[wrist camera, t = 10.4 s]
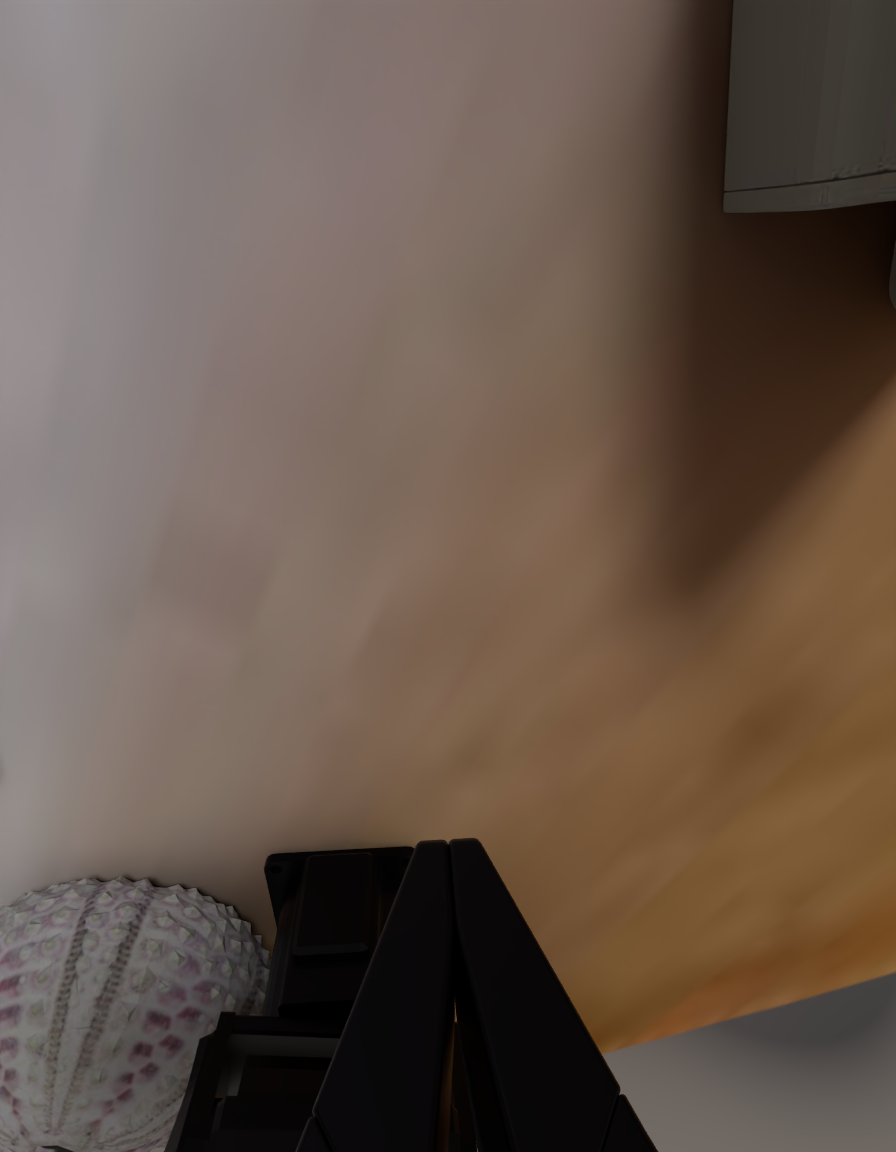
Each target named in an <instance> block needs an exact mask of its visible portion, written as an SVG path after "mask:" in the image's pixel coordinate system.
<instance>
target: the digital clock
mask: <svg viewBox="0 0 896 1152" xmlns="http://www.w3.org/2000/svg"><path fill="white" fill-rule="evenodd" d="M724 191H728V192H726V193H724V201H723V210H724V213H753V212H791V211H811V210H823V209H832V208H840V207H847V206H855V205H862V204H870V203H877V202H886V201H895V200H896V0H733V20H732V40H731V60H730V80H729V100H728V120H727V141H726V161H725V181H724ZM889 296H890V300H891V302H892V304H893V306H894V308H895V309H896V240H895V247H894V253H893V260H892V266H891V273H890V282H889Z"/></svg>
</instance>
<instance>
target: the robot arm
mask: <svg viewBox="0 0 896 1152" xmlns="http://www.w3.org/2000/svg"><path fill="white" fill-rule="evenodd" d="M264 871H265V876H266V880H267V885H268V889H269V894H270V898H271V903H272V907H273V912H274V916H275V921H276V925H277V934H276V939H275V945H274V950H273V956H272V961H271V967H270V972H269V977H268V983H267V988H266V994H265V999H264V1005H263V1010H262V1016H252V1015H236V1012H231V1011H221V1013H220V1017H219V1020H218V1024H217V1027H216V1030H214V1032H213V1033H211V1034H209V1035H206V1036H204V1037H202V1038H200V1039H199V1043H198V1047H197V1051H196V1055H195V1059H194V1062H193V1066H192V1070H191V1074H190V1078H189V1082H188V1085H187V1089H186V1092H185V1095H184V1098H183V1101H182V1104H181V1107H180V1110H179V1112H178V1115H177V1118H176V1121H175V1123H174V1126H173V1129H172V1132H171V1134H170V1137H169V1140H168V1143H167V1145H166V1148H165V1151H164V1152H477V1149H478V1152H658V1151H657V1149H656V1147H655V1146H654V1144H653V1142H652V1141H651V1139H650V1137H649V1136H648V1134H647V1132H646V1131H645V1129H644V1127H643V1125H642V1124H641V1122H640V1120H639V1118H638V1117H637V1115H636V1113H635V1111H634V1110H633V1108H632V1106H631V1104H630V1103H629V1101H628V1099H627V1097H626V1096H625V1095H624V1094H621V1095H619V1094H620V1086H619V1084H618V1082H617V1081H616V1079H615V1077H614V1075H613V1074H612V1072H611V1070H610V1068H609V1067H608V1065H607V1063H606V1061H605V1059H604V1058H603V1056H602V1054H601V1052H600V1051H599V1049H598V1047H597V1045H596V1044H595V1042H594V1040H593V1038H592V1037H591V1035H590V1033H589V1031H588V1030H587V1028H586V1026H585V1024H584V1023H583V1021H582V1019H581V1017H580V1016H579V1014H578V1012H577V1010H576V1009H575V1007H574V1005H573V1003H572V1002H571V1000H570V998H569V996H568V995H567V993H566V991H565V989H564V988H563V986H562V984H561V982H560V981H559V979H558V977H557V975H556V974H555V972H554V970H553V968H552V967H551V965H550V963H549V961H548V960H547V958H546V956H545V954H544V953H543V951H542V949H541V947H540V946H539V944H538V942H537V940H536V939H535V937H534V935H533V933H532V931H531V930H530V928H529V926H528V924H527V923H526V921H525V919H524V917H523V916H522V914H521V912H520V910H519V909H518V907H517V905H516V903H515V902H514V900H513V898H512V896H511V895H510V893H509V891H508V889H507V888H506V886H505V884H504V882H503V881H502V879H501V877H500V875H499V874H498V872H497V870H496V868H495V867H494V865H493V863H492V861H491V860H490V858H489V856H488V854H487V853H486V851H485V849H484V847H483V846H482V844H481V843H480V841H479V840H478V839H476V838H463V839H452V840H451V841H450V842H449V844H448V843H447V842H446V841H445V840H426V841H420V842H419V843H418V844H417V845H416V847H415V848H412V847H388V848H370V849H352V850H334V851H315V852H297V853H279V854H272V855H270V856H268V858H267V859H266V863H265V867H264ZM455 1005H456V1016H457V1022H455ZM457 1023H458V1024H457ZM476 1142H477V1144H476Z"/></svg>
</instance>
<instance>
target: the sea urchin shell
mask: <svg viewBox="0 0 896 1152" xmlns="http://www.w3.org/2000/svg"><path fill="white" fill-rule="evenodd" d="M269 952H270V951H268V950H266V949H265V948H263V947H262V937H261V935H252V934H251V924H250V923H249V922H246V921H243V920H241V919H239V916H238V914H237V913H236V912H235V910H234V908H233V906H228V907H225V905H224V904H218V903H216V902H215V901H214V900H213V899H212V897H209V896H202V895H201V894H200V893H198V892H197V889H196V888H192V889H186V890H185V889H183V888H182V887H181V886H180V885H179V884H178V885H174V886H171V887H168V888H160V887H154V886H152V884H151V883H150V881H149V880H148V879H147V878H146V879H143V880H140V881H137V882H132V881H130V880H128V879H127V878H126V879H125V878H124V877H122V876H120V877H118V878H117V879H115V880H114V879H113V880H112V881H108V882H99V881H98V880H96V879H95V878H92V879H90V880H89V879H87V878H84V879H82V880H81V881H70V882H68V883H66V884H60V885H59V886H58V885H51V886H50V887H49V888H48V889H47V890H45V891H41V892H35V891H30V892H29V893H28V894H27V893H24V894H23V895H22V896H21V897H20V898H19V899H18V900H17V901H16V902H15V903H14V904H13V905H11V906H3V907H2V908H0V1148H1V1152H149V1151H150V1150H152V1149H154V1148H157V1147H166V1145H167V1143H168V1140H169V1137H170V1134H171V1132H172V1129H173V1126H174V1123H175V1121H176V1118H177V1115H178V1112H179V1110H180V1107H181V1104H182V1101H183V1098H184V1095H185V1092H186V1089H187V1085H188V1082H189V1078H190V1074H191V1070H192V1066H193V1062H194V1059H195V1055H196V1051H197V1047H198V1043H199V1039H200V1038H202V1037H204V1036H206V1035H209V1034H211V1033H213V1032H214V1030H216V1027H217V1024H218V1020H219V1017H220V1013H221V1011H231V1012H236V1015H252V1016H262V1010H263V1005H264V999H265V994H266V988H267V983H268V977H269V972H270V962H271V958H270V957H269Z"/></svg>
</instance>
